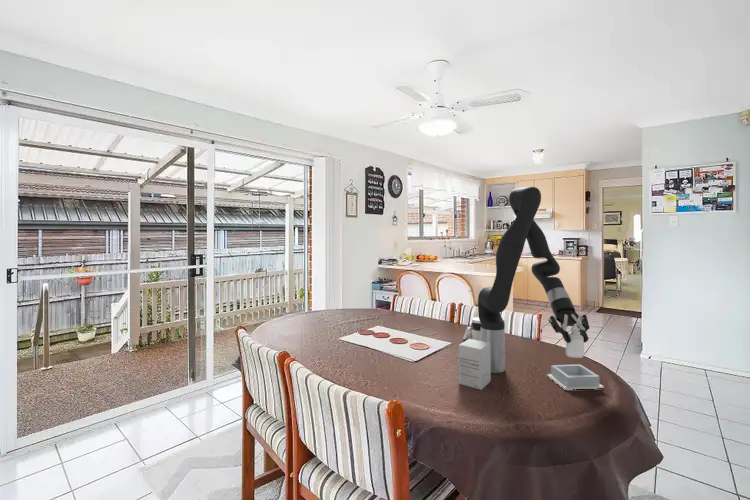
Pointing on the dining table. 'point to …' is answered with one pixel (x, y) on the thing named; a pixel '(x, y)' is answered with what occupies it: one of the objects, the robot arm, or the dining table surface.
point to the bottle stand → (574, 377)
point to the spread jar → (474, 330)
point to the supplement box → (474, 363)
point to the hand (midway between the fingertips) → (577, 341)
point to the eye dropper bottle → (575, 344)
